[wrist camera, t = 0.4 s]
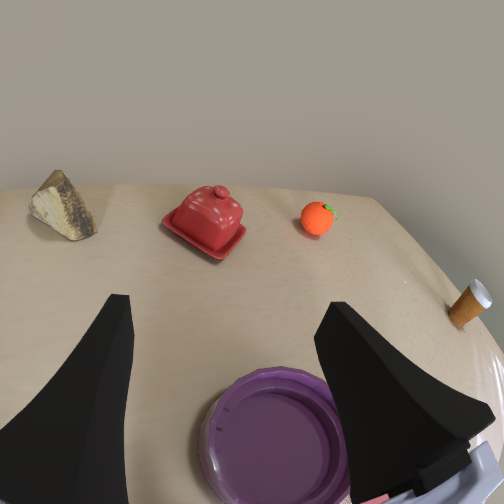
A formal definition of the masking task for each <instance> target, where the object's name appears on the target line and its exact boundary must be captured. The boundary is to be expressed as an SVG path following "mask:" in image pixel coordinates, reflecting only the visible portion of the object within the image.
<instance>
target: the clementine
mask: <svg viewBox="0 0 504 504" xmlns="http://www.w3.org/2000/svg"><path fill="white" fill-rule="evenodd" d="M332 211H333V212H335V211H334V210H333V209H332V208H331V207H329V206H327V205H326V204H324V203H322V202H312V203H309V204H308V205H306V206H305V208H304V209H303V210H302V213H301V218H300V219H301V224H302V226H303V228H304V229H305V230H306V231H307V232H309V233H311V234H315V235H320V234H323V233H325V232H327V231H328V230H329V229H330V227H331V225H332V223H333V214H332ZM335 214H336V213H335ZM336 219H337V215H336Z"/></svg>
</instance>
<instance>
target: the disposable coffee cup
mask: <svg viewBox="0 0 504 504" xmlns="http://www.w3.org/2000/svg"><path fill="white" fill-rule="evenodd" d="M491 303H492V299H491V297H490V295H489V293H488V291H487V290H486V289H485V287H484V286H483V285H482V284H481V283H480V282H479V281H478V280H477V279H474V280H473V281H471V282H470V284H469V286H468V287H467V289H466V290H465V291H464V292H463V294H462V295H461V296H460V297H459V299H458V300H457V301H456V302H455V303H454V305H453V306H452V307H451V308H450V309H449V311H448V313H449V316H450V318H451V320H452V321H453V323H454V324H455V325H456V326H458V327H461V326H463V325H464V324H466V323H467V322H468V321H470V320H471V319H473V318H474V317H475V316H477V315H478V314H480V313H481V312H482V311H484V310H485V309H487V308H489V307H490V305H491Z"/></svg>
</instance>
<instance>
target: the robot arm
mask: <svg viewBox="0 0 504 504" xmlns="http://www.w3.org/2000/svg"><path fill="white" fill-rule="evenodd" d="M314 341H315V346H316V351H317V355H318V359H319V362H320V365H321V368H322V370H323V373H324V376H325V378H326V381H327V384H328V386H329V389H330V391H331V394H332V397H333V399H334V402H335V405H336V408H337V411H338V414H339V418H340V422H341V426H342V430H343V435H344V440H345V446H346V451H347V458H348V466H349V477H350V498H351V502H352V504H361V503H364V502H367V501H369V500H372V499H375V498H378V497H380V496H383V495H385V494H388V497H389V499H388V500H386V501H384V502H382V503H379V504H483V502H484V501H485V500H486V499H487V497H488V496H489V495H490V494H491V493H492V492H493V490H494V489H495V488H496V487H497V486H498V485H499V484H500V483H501V482H502V481H503V480H504V477H503V474H502V472H501V470H500V468H499V465H498V463H497V460H496V458H495V456H494V454H493V451H492V449H491V447H490V445H489V443H488V441H485V442H483V443H482V444H480V445H479V446H477V447H476V448H474V449H473V450H472V451H470V452H469V453H468V451H467V449H468V448H470V446H471V445H470V443H469V440H470V439H472V438H473V437H475V436H476V435H477V434H479V433H480V432H481V431H483V430H484V429H485V428H487V427H488V426H489V425H490V424H492V423H493V422H494V421H495V419H496V418H495V416H494V414H493V412H492V411H491V409H490V407H489V406H488V404H487V403H484V402H482V401H479V400H476V399H474V398H471V397H469V396H466V395H464V394H462V393H460V392H458V391H456V390H454V389H452V388H451V387H449V386H447V385H445V384H443V383H442V382H440V381H439V380H437V379H435V378H434V377H432V376H431V375H429V374H428V373H426V372H425V371H423V370H422V369H421V368H419V367H418V366H417V365H415V364H414V363H413V362H411V361H410V360H409V359H408V358H406V357H405V356H404V355H403V354H402V353H400V352H399V351H398V350H397V349H396V348H395V347H393V346H392V345H391V344H390V343H389V342H388V341H387V340H386V339H385V338H384V337H382V336H381V335H380V334H379V333H378V332H377V331H376V330H375V329H374V328H373V327H372V326H371V325H370V324H369V323H368V322H367V321H366V320H364V319H363V318H362V317H361V316H360V315H359V314H358V313H357V312H356V311H355V310H354V309H353V308H351V307H350V306H349V305H348V304H347V303H346V302H331V303H330V305H329V307H328V309H327V311H326V313H325V316H324V318H323V320H322V322H321V324H320V326H319V328H318V330H317V332H316V334H315V336H314ZM133 349H134V329H133V322H132V314H131V306H130V298H129V295H119V294H111V295H110V296H109V297H108V299H107V301H106V302H105V304H104V306H103V307H102V309H101V310H100V312H99V314H98V315H97V317H96V318H95V320H94V321H93V323H92V324H91V326H90V327H89V329H88V330H87V332H86V333H85V334H84V336H83V337H82V339H81V340H80V342H79V343H78V345H77V346H76V347H75V349H74V350H73V351H72V353H71V354H70V355H69V357H68V358H67V359H66V361H65V362H64V363H63V365H62V366H61V367H60V369H59V370H58V371H57V372H56V374H55V375H54V376H53V377H52V378H51V379H50V381H49V382H48V383H47V384H46V385H45V386H44V388H43V389H42V390H41V391H40V392H39V393H38V394H37V395H36V396H35V397H34V399H33V400H32V401H31V402H30V403H29V404H28V405H27V406H26V407H25V408H24V409H23V410H22V411H20V412H19V413H18V414H17V415H16V416H15V417H14V418H13V419H12V420H11V421H10V422H9V423H8V424H7V425H5V426H4V427H3V428H2V429H1V430H0V504H129V502H128V495H127V486H126V476H125V461H124V417H125V409H126V401H127V394H128V388H129V381H130V375H131V369H132V363H133Z"/></svg>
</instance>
